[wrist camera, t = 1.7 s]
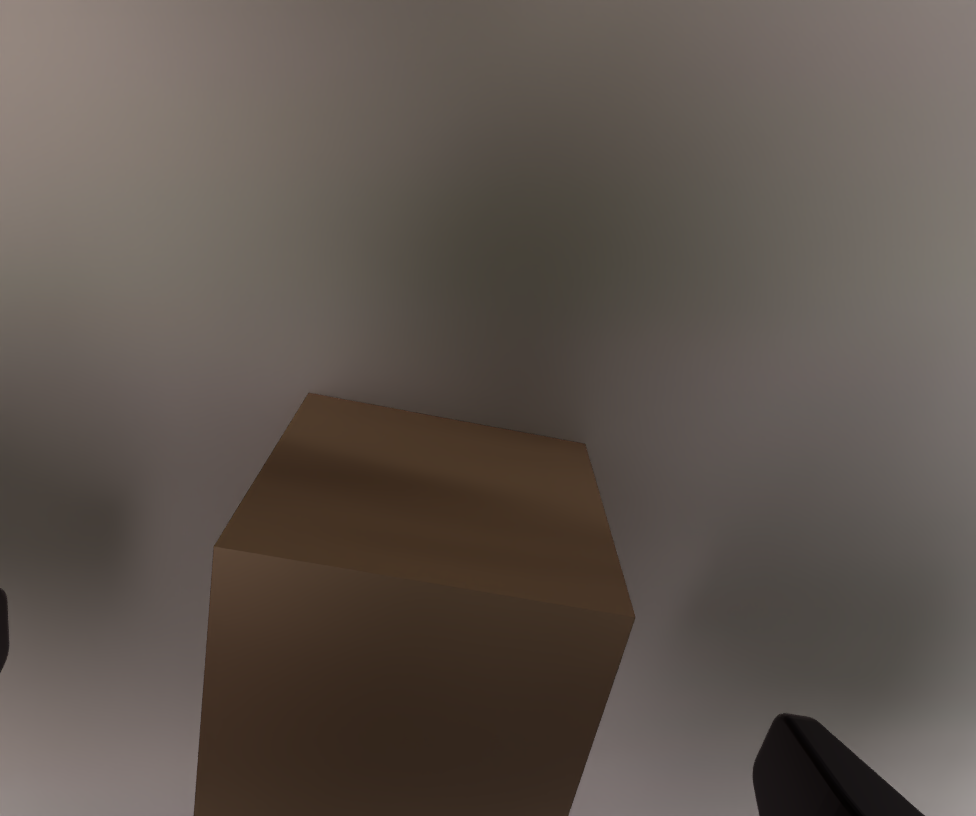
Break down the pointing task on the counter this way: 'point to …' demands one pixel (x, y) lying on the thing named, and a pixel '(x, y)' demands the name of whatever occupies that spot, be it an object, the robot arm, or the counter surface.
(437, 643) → the walnut cube
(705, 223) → the counter surface
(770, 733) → the robot arm
